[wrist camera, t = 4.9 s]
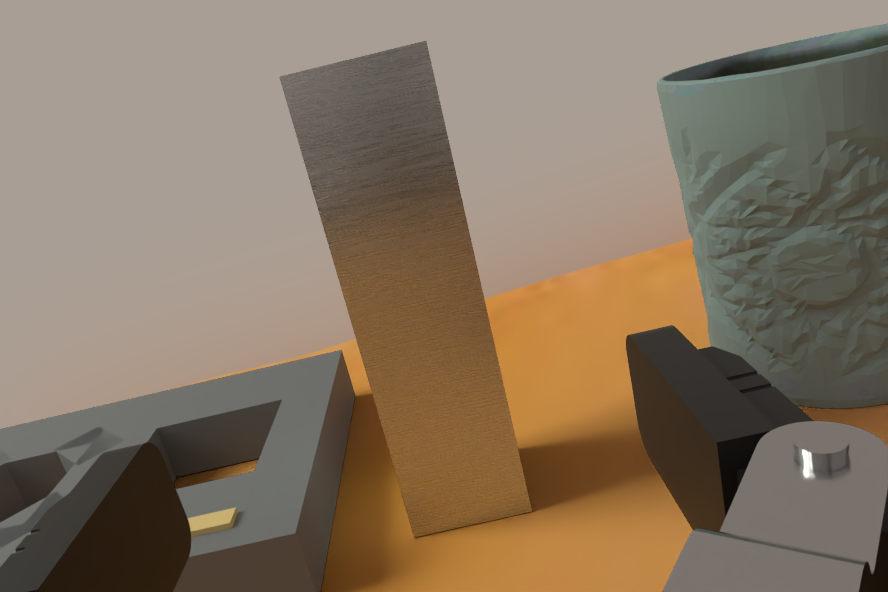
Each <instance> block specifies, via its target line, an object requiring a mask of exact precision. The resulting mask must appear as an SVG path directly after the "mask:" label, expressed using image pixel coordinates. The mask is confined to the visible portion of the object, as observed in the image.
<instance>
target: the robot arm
mask: <svg viewBox="0 0 888 592" xmlns="http://www.w3.org/2000/svg"><path fill="white" fill-rule="evenodd" d="M626 350H627V357H628V363H629V369H630V376H631V382H632V388H633V395H634V401H635V407H636V414H637V420H638V425H639V429H640V433H641V437H642V440H643V443H644V446H645V449H646V451H647V453H648V456H649V458H650V459H651V461H652V463H653V464H654V466H655V468H656V469H657V471H658V473H659V474H660V476H661V478H662V479H663V481H664V483H665V484H666V486H667V488H668V489H669V491H670V493H671V494H672V496H673V498H674V499H675V501H676V503H677V504H678V506H679V508H680V509H681V511H682V513H683V514H684V516H685V518H686V519H687V521H688V523H689V524H690V526H691V528H692V529H693V532H692V533H691V534H690V536H689V538H688V539H687V541H686V543H685V546H684V548H683V550H682V552H681V554H680V556H679V558H678V560H677V562H676V564H675V566H674V568H673V571H672V573H671V575H670V577H669V579H668V581H667V583H666V585H665V587H664V589H663V591H662V592H888V446H887V445H886V444H885V443H884V442H883V441H882V440H881V439H880V438H878V437H877V436H875V435H873V434H872V433H870V432H867V431H865V430H863V429H860V428H857V427H854V426H851V425H846V424H842V423H836V422H826V421H813V420H812V419H811V418H810V417H809V416H807V415H806V414H805V413H804V412H803V411H802V410H801V409H800V408H798V407H797V406H796V405H795V404H794V403H793V402H792V401H790V400H789V399H788V398H787V397H786V396H785V395H784V394H783V393H781V392H780V391H779V390H778V389H777V388H776V387H772V385H771V383H770V382H769V381H768V380H767V379H766V378H764V377H763V376H762V375H761V374H758V373H757V370H755V369H754V368H753V367H752V366H751V365H750V364H749V363H747V362H746V361H745V360H744V359H743V358H742V357H741V356H739V355H736V354H733V353H730V352H728V351H725V350H722V349H719V348H716V347H714V346H712V347H708V348H703V349H699V350H698V349H697V348H696V347H695V346H694V345H693V344H692V343H691V342H690V341H689V340H688V339H687V338H686V337H685V336H684V335H683V334H682V333H681V332H680V331H679V330H678V329H677V328H676V327H674V326H672V325H671V326H667V327H662V328H658V329H653V330H649V331H645V332H640V333H636V334H631V335H628V336H627V338H626ZM15 550H16V553H13V554H11V555H10V556H9V557H8V558H7V560H6V561H5V562H4V563H3V564H2V566H1V567H0V592H173V591H174V589H175V586H176V584H177V582H178V580H179V578H180V576H181V573H182V571H183V569H184V567H185V565H186V563H187V560H188V558H189V555H190V550H191V530H190V525H189V521H188V518H187V516H186V513H185V511H184V508H183V506H182V503H181V501H180V498H179V496H178V493H177V491H176V488H175V486H174V483H173V481H172V478H171V476H170V473H169V471H168V468H167V466H166V463H165V461H164V458H163V456H162V454H161V452H160V450H159V449H158V448H157V446H155V445H154V444H153V443H150V442H147V443H142V444H138V445H134V446H129V447H125V448H120V449H116V450H111V451H107V452H104V453H102V454H101V455H100V456H99V457H98V459H97V460H96V461H95V462H94V464H93V465H92V466H91V467H90V469H89V470H88V471H87V472H86V473H85V475H84V476H83V477H82V478H81V480H80V481H79V482H78V483H77V484H76V486H75V487H74V488H73V489H72V491H71V492H70V493H69V494H67V495H66V496H65V497H63V498H62V499H61V500H60V501H58V502H57V503H56V504H54V505H53V506H52V507H51V508H49V509H48V510H47V512H46V513H45V514H44V515H43V516H42V518H41V519H40V520H39V521H38V522H37V524H36V525H35V526H34V527H33V528H32V530H31V534H30V535H27V536H26V537H25V538H24V539H23V540H22V542H21V543H20V544H19V545H18V546H17V548H16V549H15Z"/></svg>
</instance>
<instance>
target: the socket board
mask: <svg viewBox="0 0 888 592" xmlns="http://www.w3.org/2000/svg"><path fill="white" fill-rule="evenodd" d="M354 400H355V393H354V389H353V386H352V383H351V379H350V376H349V373H348V370H347V366H346V363H345V360H344V356H343V353H342V350H339V351H335V352H331V353H326V354H322V355H318V356H313V357H309V358H305V359H300V360H296V361H292V362H287V363H283V364H279V365H275V366H270V367H266V368H262V369H257V370H253V371H249V372H244V373H240V374H236V375H231V376H227V377H223V378H218V379H214V380H210V381H206V382H201V383H197V384H193V385H188V386H184V387H180V388H175V389H171V390H167V391H162V392H158V393H154V394H149V395H145V396H141V397H137V398H132V399H128V400H124V401H119V402H116V403H111V404H107V405H102V406H98V407H93V408H89V409H85V410H80V411H76V412H72V413H68V414H63V415H59V416H55V417H51V418H46V419H42V420H37V421H33V422H29V423H24V424H20V425H16V426H12V427H7V428H3V429H0V567H1V566H2V564H3V563H4V562H5V561H6V560H7V558H8V557H9V556H10V555H11V554H13V553H16V550H15V549H16V548H17V546H18V545H19V544H20V543H21V542H22V540H23V539H24V538H25V537H26V536H27V535H30V534H31V530H32V528H33V527H34V526H35V525H36V524H37V522H38V521H39V520H40V519H41V518H42V516H43V515H44V514H45V513H46V512H47V510H48V509H49V508H51V507H52V506H53V505H54V504H56V503H57V502H58V501H60V500H61V499H62V498H63V497H65V496H66V495H67V494H69V493H70V492H71V491H72V489H73V488H74V487H75V486H76V484H77V483H78V482H79V481H80V480H81V478H82V477H83V476H84V475H85V473H86V472H87V471H88V470H89V469H90V467H91V466H92V465H93V464H94V462H95V461H96V460H97V459H98V457H99V456H100V455H101V454H102V453H104V452H107V451H111V450H116V449H120V448H125V447H129V446H134V445H138V444H142V443H147V442H150V443H153V444H154V445H155V446H157V448H158V449H159V450H160V452H161V454H162V456H163V458H164V461H165V463H166V466H167V468H168V471H169V473H170V476H171V478H172V481H173V483H174V481H175V479H176V478H177V477H179V476H184V475H188V474H192V473H197V472H201V471H206V470H210V469H214V468H219V467H223V466H228V465H232V464H236V463H241V462H245V461H250V460H254V459H258V458H259V460H258V463H257V465H256V468H255V470H254V471H253V472H249V473H245V474H240V475H236V476H231V477H227V478H223V479H218V480H214V481H209V482H205V483H200V484H196V485H192V486H187V487H183V488H178V489H176V491H177V493H178V496H179V498H180V501H181V503H182V506H183V508H184V511H185V513H186V516H187V518H188V521H189V525H190V530H191V550H190V555H189V558H188V560H187V563H186V565H185V567H184V569H183V571H182V573H181V576H180V578H179V580H178V582H177V584H176V586H175V589H174V591H173V592H321V587H322V581H323V575H324V570H325V564H326V558H327V553H328V547H329V541H330V536H331V530H332V524H333V519H334V513H335V507H336V502H337V496H338V490H339V485H340V479H341V473H342V468H343V462H344V456H345V451H346V445H347V439H348V434H349V428H350V423H351V417H352V411H353V406H354Z"/></svg>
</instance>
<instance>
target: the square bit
mask: <svg viewBox="0 0 888 592" xmlns="http://www.w3.org/2000/svg"><path fill="white" fill-rule="evenodd" d="M280 81H281V84H282V87H283V91H284V94H285V98H286V101H287V105H288V108H289V111H290V115H291V118H292V122H293V125H294V128H295V131H296V135H297V138H298V142H299V145H300V149H301V152H302V156H303V159H304V163H305V166H306V169H307V173H308V176H309V179H310V183H311V186H312V190H313V193H314V197H315V200H316V203H317V207H318V210H319V214H320V217H321V221H322V224H323V227H324V231H325V234H326V237H327V241H328V244H329V248H330V251H331V255H332V258H333V261H334V265H335V268H336V272H337V275H338V278H339V282H340V285H341V289H342V292H343V296H344V299H345V302H346V306H347V309H348V313H349V316H350V319H351V323H352V326H353V330H354V333H355V336H356V340H357V343H358V347H359V350H360V354H361V357H362V360H363V364H364V367H365V371H366V374H367V377H368V381H369V384H370V388H371V391H372V395H373V398H374V401H375V405H376V408H377V412H378V415H379V418H380V422H381V425H382V429H383V432H384V435H385V439H386V442H387V446H388V449H389V453H390V456H391V459H392V463H393V466H394V470H395V473H396V476H397V480H398V483H399V487H400V490H401V493H402V497H403V500H404V504H405V507H406V511H407V514H408V517H409V521H410V524H411V528H412V531H413V534H414V537H419V536H424V535H428V534H433V533H437V532H442V531H446V530H451V529H455V528H460V527H464V526H469V525H473V524H478V523H482V522H487V521H491V520H496V519H500V518H505V517H509V516H514V515H518V514H523V513H528V512H532V508H531V504H530V500H529V495H528V491H527V486H526V482H525V477H524V473H523V469H522V464H521V460H520V455H519V451H518V446H517V442H516V437H515V433H514V429H513V424H512V420H511V415H510V411H509V406H508V402H507V398H506V393H505V389H504V384H503V380H502V375H501V371H500V366H499V362H498V358H497V353H496V349H495V344H494V340H493V335H492V331H491V327H490V322H489V318H488V313H487V309H486V304H485V300H484V296H483V291H482V287H481V282H480V278H479V274H478V269H477V264H476V260H475V256H474V251H473V247H472V242H471V238H470V234H469V229H468V224H467V220H466V216H465V211H464V207H463V202H462V198H461V194H460V189H459V185H458V180H457V176H456V171H455V167H454V162H453V158H452V153H451V149H450V145H449V140H448V136H447V132H446V127H445V122H444V118H443V114H442V109H441V105H440V101H439V96H438V91H437V87H436V83H435V78H434V74H433V69H432V65H431V61H430V56H429V52H428V47H427V43H426V41H423V42H420V43H415V44H411V45H407V46H403V47H399V48H395V49H390V50H387V51H382V52H378V53H374V54H370V55H366V56H363V57H358V58H354V59H350V60H346V61H342V62H338V63H334V64H329V65H326V66H322V67H317V68H313V69H309V70H305V71H301V72H297V73H293V74H289V75H285V76H280Z"/></svg>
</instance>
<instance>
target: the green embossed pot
mask: <svg viewBox="0 0 888 592" xmlns="http://www.w3.org/2000/svg"><path fill="white" fill-rule="evenodd" d="M657 91H658V95H659V99H660V104H661V109H662V113H663V117H664V122H665V127H666V131H667V136H668V140H669V145H670V149H671V154H672V157H673V161H674V164H675V168H676V171H677V174H678V178H679V183H680V187H681V194H682V200H683V204H684V210H685V214H686V219H687V224H688V229H689V232H690V234H691V236H692V238H693V254H694V257H695V262H696V266H697V271H698V276H699V281H700V285H701V289H702V294H703V298H704V303H705V307H706V312H707V317H708V332H709V339H710V344H711V347H712V346H714V347H716V348H719V349H722V350H725V351H728V352H730V353H733V354H736V355H739V356H741V357H742V358H743V359H744V360H745V361H746V362H747V363H749V364H750V365H751V366H752V367H753V368H754V369H755V370H757V373H758V374H761V375H762V376H763V377H764V378H766V379H767V380H768V381H769V382H770V383H771V385H772V387H776V388H777V389H778V390H779V391H780V392H781V393H783V394H784V395H785V396H786V397H787V398H788V399H789V400H790V401H792V402H793V403H794V404H795V405H796V406H802V405H804V406H807V407H816V408H838V409H844V408H859V407H868V406H876V405H883V404H888V24H883V25H877V26H872V27H866V28H861V29H855V30H850V31H845V32H839V33H834V34H829V35H824V36H820V37H814V38H809V39H804V40H799V41H795V42H790V43H786V44H781V45H777V46H773V47H768V48H763V49H758V50H753V51H749V52H745V53H741V54H738V55H733V56H730V57H725V58H721V59H717V60H713V61H709V62H705V63H702V64H698V65H695V66H692V67H689V68H686V69H683V70H680V71H676V72H674V73H671V74H669V75H667V76H664V77H662V78H661V79H660V80H659V81H658V82H657Z"/></svg>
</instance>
